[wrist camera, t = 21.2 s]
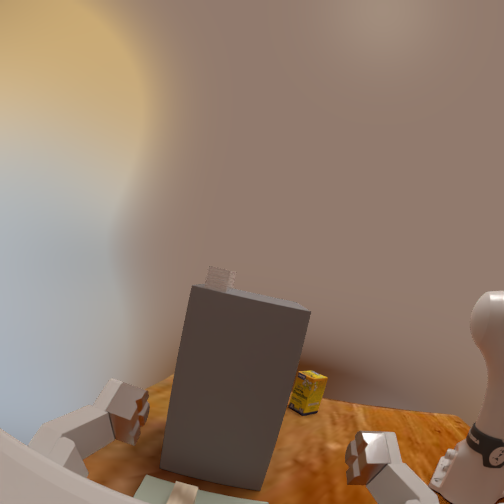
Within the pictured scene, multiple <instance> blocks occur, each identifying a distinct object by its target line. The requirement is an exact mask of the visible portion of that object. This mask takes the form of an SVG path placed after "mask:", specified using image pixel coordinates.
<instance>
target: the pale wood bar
mask: <svg viewBox="0 0 504 504" xmlns="http://www.w3.org/2000/svg"><path fill="white" fill-rule="evenodd" d="M235 276H236V272H233V271H229V270H225V269H221V268H216V267H212V266H209V268H208V273H207V277H206V282H205V286H204V288H208V289H212V290H216V291H220V292H225V293H226V292H228V291H230V290H232V289H233V285H234V281H235Z"/></svg>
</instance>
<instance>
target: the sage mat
mask: <svg viewBox="0 0 504 504" xmlns="http://www.w3.org/2000/svg"><path fill="white" fill-rule="evenodd" d="M174 485H175V483H172V482H168V481H165V480H162V479H158V478H155V477H152V476H149V475H146V476H145V478H144V480H143V481H142V483H141V485H140V487H139V488H138V490H137V492H136V493H135V495H134V497H133V498H136V499H139V500H142V501H145V502H148V503H151V504H166V503H167V501H168V499H169V497H170V494H171V492H172V490H173V487H174ZM195 504H269V503H268V502H262V501H255V500H248V499H242V498H236V497H231V496H225V495H220V494H216V493H211V492H207V491H202V490H198V491H197V496H196V500H195Z"/></svg>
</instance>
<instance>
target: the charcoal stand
mask: <svg viewBox="0 0 504 504" xmlns="http://www.w3.org/2000/svg"><path fill="white" fill-rule="evenodd" d="M204 286H205V284H199V285H192V288H191V293H190V297H189V302H188V307H187V312H186V317H185V321H184V326H183V332H182V336H181V342H180V347H179V352H178V357H177V363H176V368H175V374H174V379H173V385H172V391H171V397H170V402H169V408H168V415H167V421H166V427H165V434H164V440H163V447H162V454H161V461H160V468H161V469H164V470H168V471H171V472H174V473H178V474H181V475H185V476H189V477H193V478H197V479H201V480H205V481H209V482H214V483H219V484H223V485H228V486H234V487H239V488H245V489H251V490H258V491H260V490H261V487H262V484H263V481H264V478H265V475H266V472H267V469H268V466H269V463H270V460H271V457H272V453H273V450H274V447H275V444H276V441H277V437H278V434H279V431H280V428H281V424H282V421H283V417H284V414H285V411H286V407H287V404H288V400H289V397H290V393H291V389H292V386H293V382H294V378H295V375H296V371H297V367H298V363H299V359H300V355H301V351H302V347H303V343H304V339H305V335H306V331H307V327H308V323H309V319H310V314H311V311H309V310H308V309H306V308H305V307H303V306H301V305H300V304H298V303H297V302H292V301H288V300H283V299H278V298H273V297H269V296H264V295H260V294H255V293H250V292H246V291H241V290H237V289H232V290H230V291H228V292H226V293H225V292H220V291H216V290H212V289H208V288H204Z"/></svg>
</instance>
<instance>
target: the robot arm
mask: <svg viewBox="0 0 504 504" xmlns="http://www.w3.org/2000/svg"><path fill="white" fill-rule="evenodd" d="M470 330H471V335H472V338H473V340H474V342H475V344H476V345H477V347H478V348H479V349H480V351H481V353H482V355H483V357H484V360H485V362H486V366H487V375H488V381H487V382H488V383H487V389H486V393H485V397H484V401H483V404H482V407H481V410H480V413H479V416H478V419H477V421H476V422H475V423H474V424H473V426H472V427H471V429H470V431H469V433H468V435H467V437H466V439H464V440H463V441H461V442H459V443H457V444H456V446H455V448H454V450H452V449H448V450H447V452H446V454H445V456H444V457H441V458H440V460H439V462H438V465H437V467H436V469H435V472H434V474H433V476H432V478H431V481H430V483H429V487H430V488H431V489H433V490H435V491H437V492H439V493H440V494H441V495H442V496H443V497H444V498H445V499H447V500H448V501H450V502H451V503H453V504H495V503H496V502H497V500H498V499H500V498H503V497H504V291H491V292H486V293H485V294H483V295H482V297H480V299H479V300H478V301H477V303H476V304H475V306H474V308H473V311H472V314H471V318H470ZM148 397H149V394H148V391H146V390H143V389H140V388H138V387H135V386H132V385H129V384H127V383H124V382H121V381H119V380H116V379H113V378H112V379H110V380H109V381H108V382H107V384H106V386H105V387H104V389H103V390H102V392H101V393H100V395H99V396H98V398H97V400H96V401H95V403H94V404H93V406H91V405H87V406H85V407H83V408H81V409H78V410H76V411H73V412H71V413H69V414H66V415H64V416H62V417H59V418H57V419H54V420H52V421H49V422H47V423H44V424H43V425H42V426H41V427H40V429H39V430H38V431H37V433H36V434H35V436H34V437H33V439H32V440H31V441H30V443H29V445H28V446H26V445H25V444H23V443H21V442H20V441H18V440H17V439H15V438H14V437H12V436H11V435H9V434H8V433H6V432H5V431H3V430H2V429H1V428H0V504H151V503H148V502H145V501H142V500H139V499H136V498H133V497H130V496H128V495H125V494H122V493H120V492H117V491H115V490H112V489H110V488H107V487H105V486H103V485H100V484H98V483H96V482H94V481H91V480H89V479H87V476H88V474H89V473H88V470H87V468H86V466H85V464H84V462H83V459H85V458H86V457H88V456H90V455H91V454H93V453H95V452H96V451H98V450H100V449H101V448H103V447H104V446H106V445H108V444H109V443H111V442H112V441H114V440H115V439H117V440H119V441H122V442H125V443H128V444H131V445H134V446H135V445H136V442H137V440H138V438H139V436H140V434H141V432H140V427H142V426H143V425H145V423H146V421H147V418H148V414H149V403H148V402H147V399H148ZM345 462H346V464H347V465H348V466H349V469H348V470H347V471H346V475H347V485H366V487H367V488H368V490H369V491H370V493H371V494H372V496H373V497H374V498H375V500H376V501H377V503H378V504H439V501H438V496H437V495H436V494H435V493H434V492H433V491H432V490H431V489H430V488H429V487H428V486H427V485H426V484H425V483H424V482H423V481H422V480H421V479H420V478H419V477H418V476H417V475H416V474H415V473H414V472H413V471H412V470H411V469H410V468H409V467H408V466H407V465H406V464H405V463H402V460H401V455H400V451H399V447H398V443H397V438H396V434H395V433H394V432H380V431H359V432H357V434H356V435H355V440H354V441H352V442H350V444H349V445H348V447H347V450H346V454H345ZM499 504H504V503H499Z"/></svg>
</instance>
